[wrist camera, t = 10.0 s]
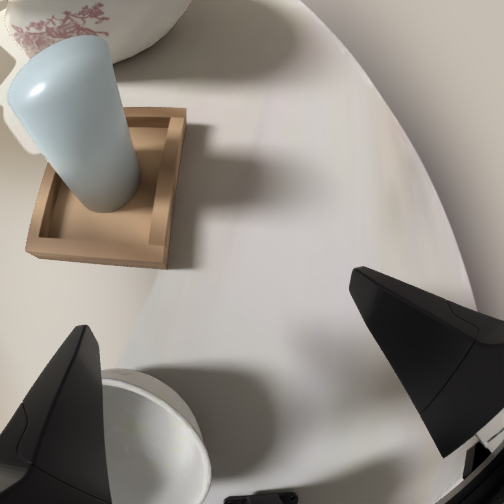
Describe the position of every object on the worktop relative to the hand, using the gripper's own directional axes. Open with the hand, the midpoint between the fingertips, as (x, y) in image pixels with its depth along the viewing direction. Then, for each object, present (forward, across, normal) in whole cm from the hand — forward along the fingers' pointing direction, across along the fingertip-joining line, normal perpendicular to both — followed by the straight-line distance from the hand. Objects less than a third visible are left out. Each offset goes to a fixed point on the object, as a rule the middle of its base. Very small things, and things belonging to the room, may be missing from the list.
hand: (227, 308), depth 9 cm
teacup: (+4, +9, +16) cm, 19 cm away
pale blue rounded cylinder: (+18, +6, 0) cm, 19 cm away
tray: (+19, +7, +1) cm, 20 cm away
